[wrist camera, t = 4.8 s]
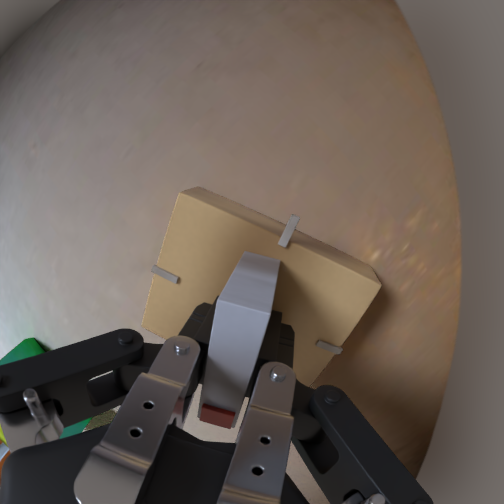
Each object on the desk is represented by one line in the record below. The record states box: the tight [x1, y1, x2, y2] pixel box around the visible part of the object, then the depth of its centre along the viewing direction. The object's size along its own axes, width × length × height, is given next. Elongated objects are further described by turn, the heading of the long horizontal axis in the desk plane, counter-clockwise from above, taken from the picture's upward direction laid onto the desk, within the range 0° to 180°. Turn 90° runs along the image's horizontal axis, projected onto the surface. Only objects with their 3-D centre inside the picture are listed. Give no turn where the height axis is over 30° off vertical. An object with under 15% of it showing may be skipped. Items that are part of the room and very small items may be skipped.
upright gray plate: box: [197, 251, 280, 429], centre depth 11 cm, size 6×2×5 cm, turn 168°
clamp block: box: [141, 187, 382, 387], centre depth 14 cm, size 10×10×3 cm
